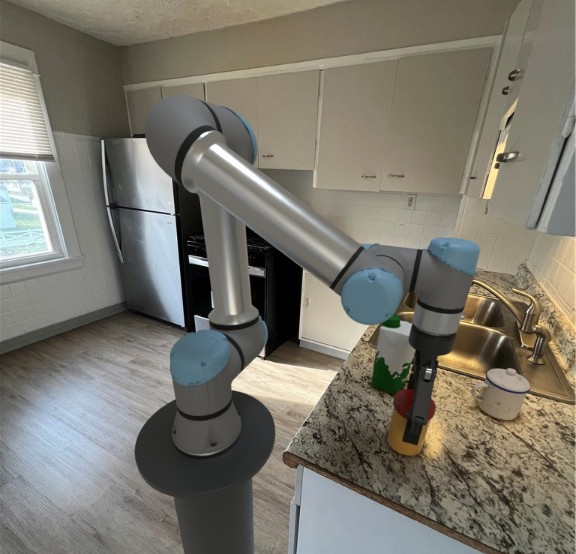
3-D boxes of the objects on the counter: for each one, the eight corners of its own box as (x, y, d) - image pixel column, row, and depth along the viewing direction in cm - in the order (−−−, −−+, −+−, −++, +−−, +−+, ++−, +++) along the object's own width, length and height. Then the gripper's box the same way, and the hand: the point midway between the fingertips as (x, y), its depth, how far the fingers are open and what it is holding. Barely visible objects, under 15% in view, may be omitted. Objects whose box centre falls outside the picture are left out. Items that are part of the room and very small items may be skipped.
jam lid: (433, 401, 66) (435, 394, 65) (434, 427, 59) (436, 419, 59) (394, 392, 69) (395, 385, 68) (391, 415, 62) (393, 408, 61)
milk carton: (376, 371, 92) (388, 309, 83) (408, 382, 88) (423, 317, 79) (367, 386, 85) (378, 320, 77) (400, 399, 81) (416, 330, 72)
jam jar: (385, 449, 66) (394, 410, 62) (388, 426, 72) (396, 389, 68) (422, 460, 64) (434, 420, 59) (421, 435, 70) (432, 397, 65)
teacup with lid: (504, 397, 83) (519, 360, 78) (526, 422, 75) (545, 382, 70) (458, 395, 83) (470, 358, 78) (475, 419, 75) (489, 379, 70)
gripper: (466, 368, 44) (432, 472, 53) (450, 306, 65) (428, 388, 75) (410, 357, 47) (386, 458, 56) (412, 300, 68) (395, 380, 77)
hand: (410, 418), depth 65 cm, fingers open, 13 cm apart
